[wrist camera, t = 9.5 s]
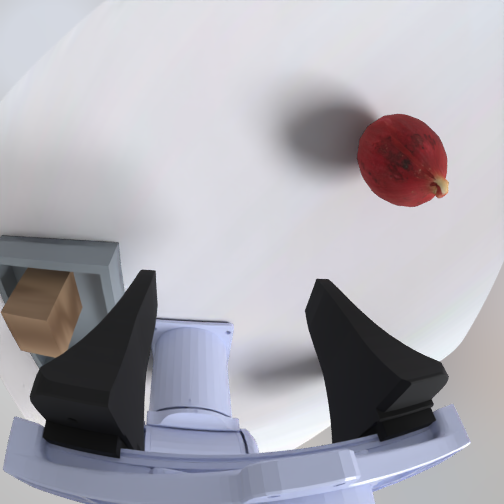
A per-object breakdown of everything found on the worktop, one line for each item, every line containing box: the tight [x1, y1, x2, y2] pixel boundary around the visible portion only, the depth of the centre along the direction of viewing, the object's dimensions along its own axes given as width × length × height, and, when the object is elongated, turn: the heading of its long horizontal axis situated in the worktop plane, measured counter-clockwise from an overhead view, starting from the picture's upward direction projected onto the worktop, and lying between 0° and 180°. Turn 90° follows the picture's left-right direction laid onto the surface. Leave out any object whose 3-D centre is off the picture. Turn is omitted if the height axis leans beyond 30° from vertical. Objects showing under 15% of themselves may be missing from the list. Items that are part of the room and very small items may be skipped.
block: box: [1, 267, 83, 358], centre depth 20 cm, size 4×4×6 cm
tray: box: [0, 235, 125, 369], centre depth 24 cm, size 16×12×3 cm
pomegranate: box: [357, 114, 449, 207], centre depth 16 cm, size 6×6×8 cm
